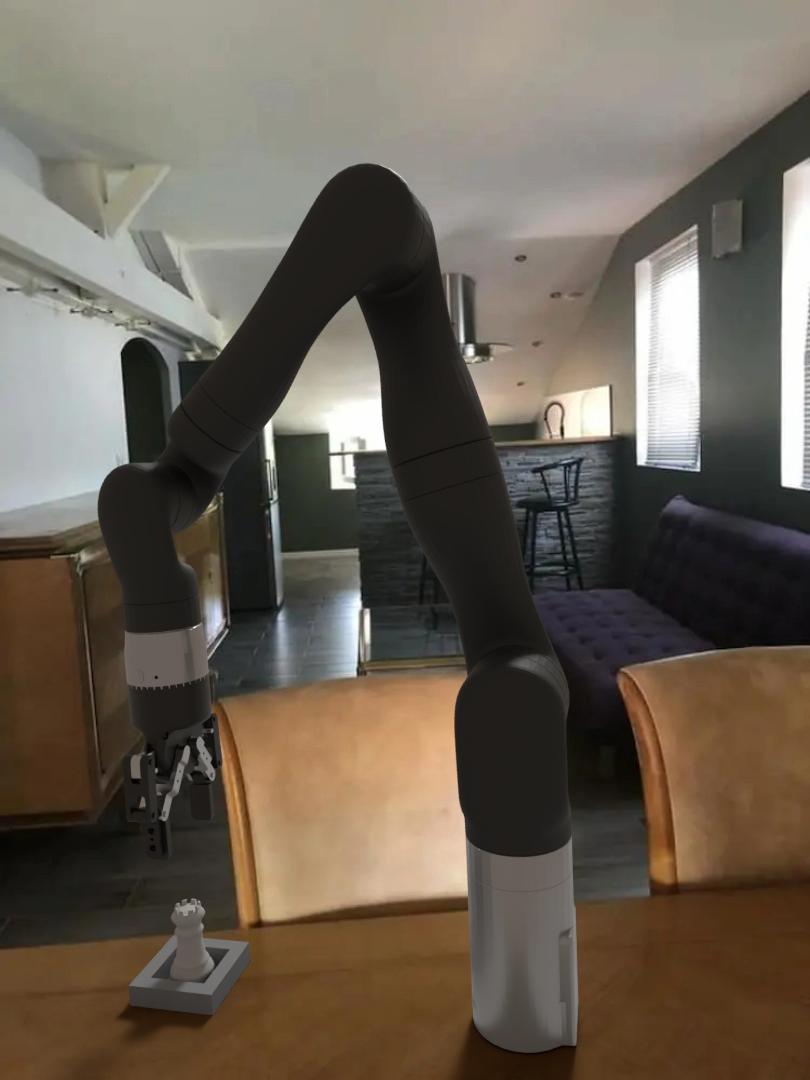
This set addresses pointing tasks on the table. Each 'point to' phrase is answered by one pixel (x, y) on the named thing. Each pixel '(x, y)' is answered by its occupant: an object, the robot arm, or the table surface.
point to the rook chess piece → (190, 944)
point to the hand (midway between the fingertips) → (182, 837)
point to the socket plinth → (190, 996)
